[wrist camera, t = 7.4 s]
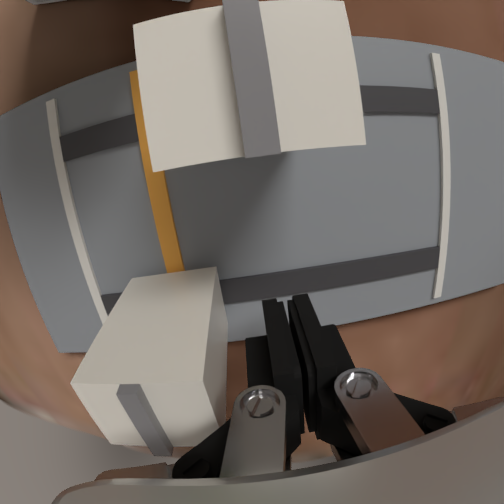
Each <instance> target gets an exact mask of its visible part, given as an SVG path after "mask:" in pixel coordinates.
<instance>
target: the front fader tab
mask: <svg viewBox="0 0 504 504" xmlns="http://www.w3.org/2000/svg"><path fill="white" fill-rule="evenodd" d="M222 2H223V6H216V7H209V8H203V9H198V10H192V11H187V12H182V13H177V14H173V15H168V16H164V17H160V18H156V19H152V20H148V21H144V22H141V23H137V24H134V25H133V32H134V43H135V53H136V62H137V71H138V79H139V87H140V95H141V102H142V109H143V116H144V123H145V129H146V135H147V141H148V147H149V153H150V159H151V164H152V170H153V172H158V171H163V170H168V169H173V168H178V167H184V166H189V165H195V164H201V163H206V162H212V161H219V160H225V159H232V158H238V157H245V158H251V157H259V156H267V155H275V154H281V152H285V151H295V150H304V149H315V148H327V147H339V146H354V145H366V138H365V127H364V118H363V109H362V101H361V93H360V86H359V79H358V72H357V66H356V60H355V54H354V48H353V43H352V38H351V32H350V27H349V23H348V18H347V13H346V9H345V4H344V1H330V0H279V1H262V2H258V0H222Z"/></svg>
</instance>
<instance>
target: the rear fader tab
mask: <svg viewBox="0 0 504 504" xmlns="http://www.w3.org/2000/svg"><path fill="white" fill-rule="evenodd" d="M227 339H228V321H227V316H226V312H225V307H224V302H223V297H222V292H221V287H220V282H219V277H218V272H217V267H209V268H202V269H194V270H187V271H180V272H173V273H165V274H158V275H151V276H143V277H136V278H132V279H131V280H130V282H129V283H128V285H127V286H126V288H125V290H124V291H123V293H122V294H121V296H120V298H119V299H118V301H117V302H116V304H115V306H114V307H113V309H112V311H111V312H110V314H109V316H108V317H107V319H106V321H105V322H104V324H103V326H102V327H101V329H100V331H99V332H98V334H97V336H96V338H95V339H94V341H93V343H92V344H91V346H90V348H89V350H88V351H87V353H86V355H85V357H84V359H83V360H82V362H81V364H80V366H79V368H78V370H77V371H76V373H75V375H74V377H73V379H72V381H71V383H70V384H71V385H72V387H73V389H74V390H75V392H76V394H77V395H78V397H79V398H80V400H81V402H82V403H83V405H84V406H85V408H86V409H87V411H88V412H89V414H90V415H91V417H92V418H93V420H94V421H95V423H96V424H97V426H98V427H99V428H100V430H101V431H102V433H103V434H104V435H105V437H106V438H107V439H108V441H109V442H110V443H111V444H117V445H132V446H148V448H149V449H150V451H151V452H152V454H153V455H154V456H172V452H173V447H190V446H197V445H198V444H199V443H201V442H202V441H203V440H204V439H206V438H207V437H208V436H209V435H211V434H212V433H213V432H214V431H216V430H217V429H218V428H219V427H221V426H222V425H223V424H224V423H225V422H226V380H227Z"/></svg>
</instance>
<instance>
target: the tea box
mask: <svg viewBox="0 0 504 504" xmlns="http://www.w3.org/2000/svg"><path fill="white" fill-rule="evenodd" d="M26 1H28V2H29V3H32V4H34V5H37V4H45V3H52V2H59V1H65V0H26ZM174 1H185V2H190V1H191V0H174Z"/></svg>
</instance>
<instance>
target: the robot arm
mask: <svg viewBox="0 0 504 504" xmlns="http://www.w3.org/2000/svg"><path fill="white" fill-rule="evenodd" d="M287 306H288V317H289V322H288V318H287V315H286V311H285V307H284V304H283V301H280V302H277V299H276V298H274V299H267V300H262V307H263V314H264V321H265V328H266V335H263V336H256V337H249V338H246V339H245V342H246V360H247V377H248V388H247V389H246V390H244V391H243V392H241V393H240V394H239V395H238V396H237V397H236V400H235V402H234V406H233V411H232V416H231V418H230V419H229V420H228V421H227V422H225V423H224V424H223V425H222V426H221V427H219V428H218V429H217V430H216V431H214V432H213V433H212V434H211V435H209V436H208V437H207V438H206V439H204V440H203V441H202V442H201V443H199V444H198V445H197V446H195V447H194V448H193V449H191V450H190V451H189V452H187V453H186V454H185V455H183V456H182V457H181V458H180V459H179V460H178V461H177V462H176V463H175V464H171V465H167V464H166V463H159V464H152V465H146V466H139V467H131V468H124V469H114V470H108V471H104V472H102V473H101V474H99V475H98V476H97V477H96V479H95V480H94V481H91V482H86V483H82V484H79V485H75V486H73V487H70V488H67V489H66V490H64V491H62V492H61V493H60V494H59V495H58V496H57V497H56V498H55V499H54V501H53V502H52V504H504V397H498V398H494V399H490V400H486V401H482V402H478V403H473V404H469V405H464V406H459V407H454V408H453V410H452V411H448V410H446V409H444V408H441V407H438V406H434V405H431V404H428V403H424V402H421V401H418V400H414V399H411V398H408V397H405V396H402V395H398V394H395V393H393V392H392V391H391V389H390V388H389V387H388V385H387V384H386V383H385V382H384V380H383V379H382V378H381V376H379V375H378V374H377V373H376V372H374V371H372V370H370V369H365V368H355V366H354V364H353V362H352V359H351V357H350V355H349V353H348V351H347V349H346V347H345V344H344V342H343V340H342V338H341V336H340V334H339V332H338V330H337V328H336V326H335V324H330V325H325V326H321V324H320V322H319V320H318V317H317V315H316V312H315V310H314V308H313V305H312V303H311V301H310V298H309V296H308V294H307V293H306V294H300V295H293V296H292V300H287ZM304 412H305V417H306V421H307V425H308V430H309V432H314V431H315V434H316V438H317V440H318V439H321V440H322V441H325V442H327V443H329V444H331V445H330V446H331V450H332V452H333V454H334V456H335V458H336V460H337V462H333V463H328V464H323V465H318V466H313V467H308V468H302V469H296V470H291V462H292V457H291V454H292V453H293V452H294V451H295V449H296V448H297V447H298V446H299V445H300V444H301V434H303V433H305V431H304Z"/></svg>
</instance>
